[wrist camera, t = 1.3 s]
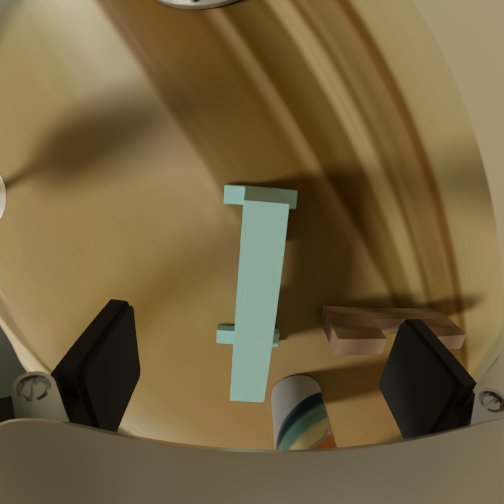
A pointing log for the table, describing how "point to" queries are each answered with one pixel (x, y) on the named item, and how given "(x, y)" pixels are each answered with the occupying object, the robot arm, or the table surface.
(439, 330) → the brown u-shaped block
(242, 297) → the teal notched bracket
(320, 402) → the lotion bottle
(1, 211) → the champagne flute
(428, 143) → the table surface
